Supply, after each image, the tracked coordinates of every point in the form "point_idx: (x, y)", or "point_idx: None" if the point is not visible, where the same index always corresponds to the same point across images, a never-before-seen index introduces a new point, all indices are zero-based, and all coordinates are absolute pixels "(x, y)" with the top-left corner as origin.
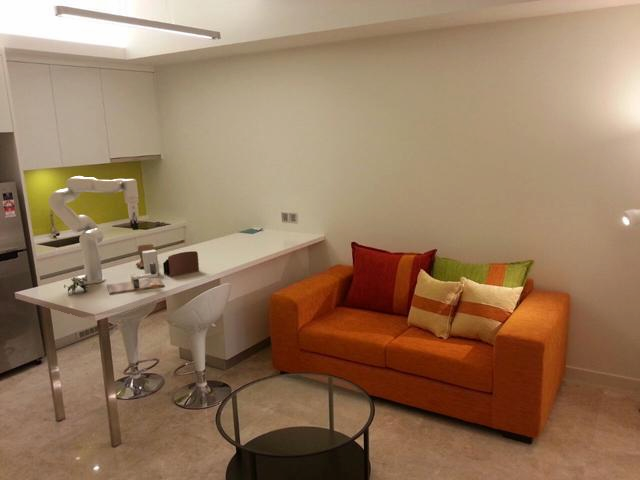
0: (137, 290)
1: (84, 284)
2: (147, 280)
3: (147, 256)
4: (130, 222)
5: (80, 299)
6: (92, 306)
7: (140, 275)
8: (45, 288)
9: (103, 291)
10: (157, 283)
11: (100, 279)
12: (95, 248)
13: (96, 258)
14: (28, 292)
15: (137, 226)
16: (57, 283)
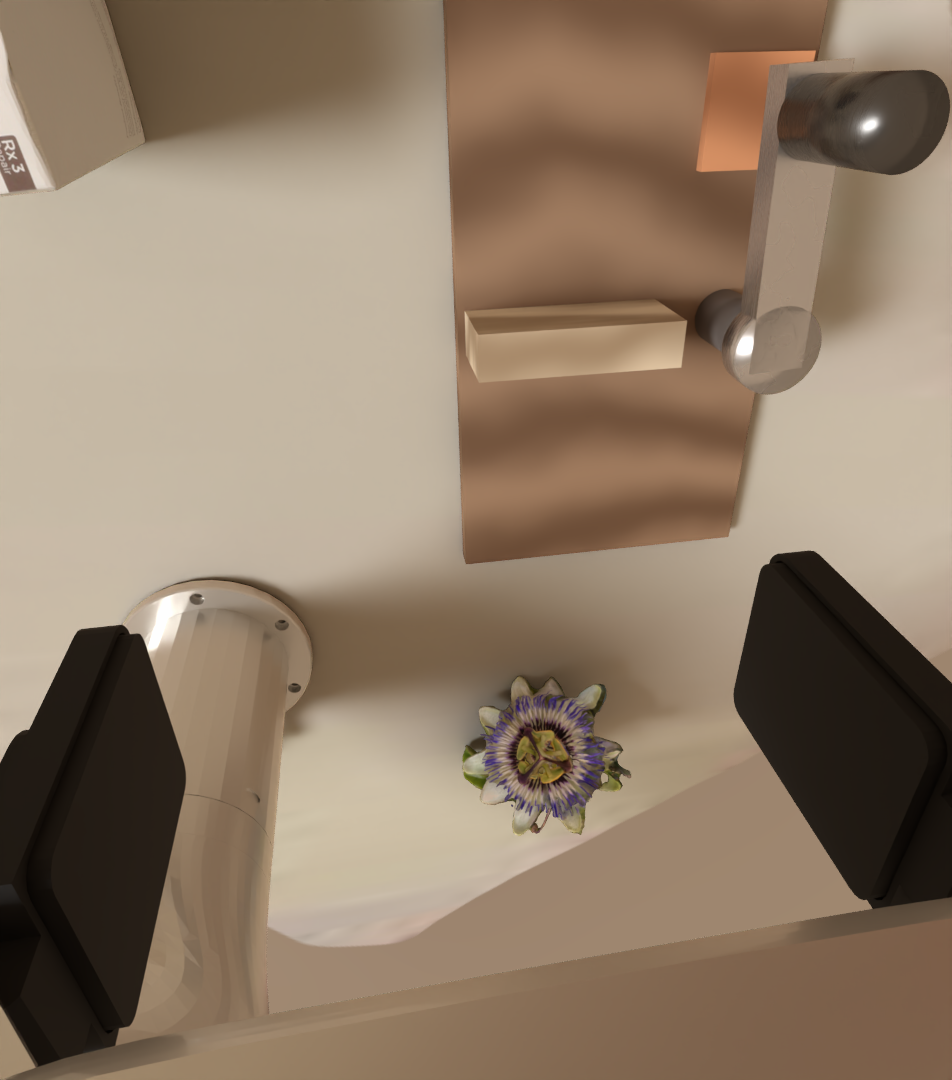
0: None
1: (592, 727)
2: (517, 175)
3: (57, 112)
4: (128, 976)
5: (701, 688)
6: (911, 613)
7: (786, 296)
8: (294, 889)
9: (595, 572)
10: None
11: (256, 622)
12: (237, 916)
13: (250, 800)
14: (351, 938)
15: (874, 640)
16: None
